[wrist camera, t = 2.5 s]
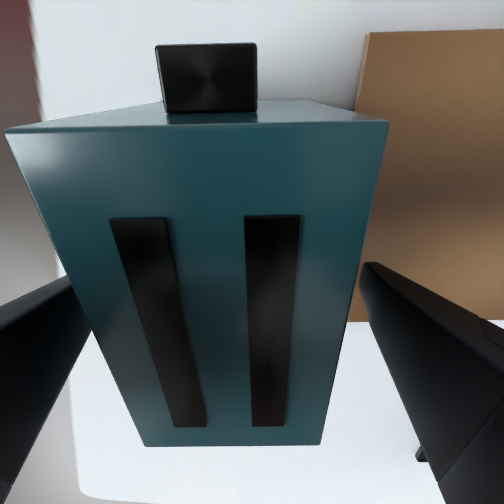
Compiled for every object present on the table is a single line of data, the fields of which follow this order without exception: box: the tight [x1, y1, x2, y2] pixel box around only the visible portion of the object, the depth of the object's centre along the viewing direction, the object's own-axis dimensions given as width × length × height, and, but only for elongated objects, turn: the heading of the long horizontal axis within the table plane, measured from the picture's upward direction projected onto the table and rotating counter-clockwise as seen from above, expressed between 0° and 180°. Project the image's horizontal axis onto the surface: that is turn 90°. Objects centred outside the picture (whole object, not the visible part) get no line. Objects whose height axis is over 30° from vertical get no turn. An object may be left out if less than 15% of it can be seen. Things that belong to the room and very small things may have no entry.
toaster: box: [3, 42, 389, 447], centre depth 10 cm, size 11×6×8 cm, turn 1°
